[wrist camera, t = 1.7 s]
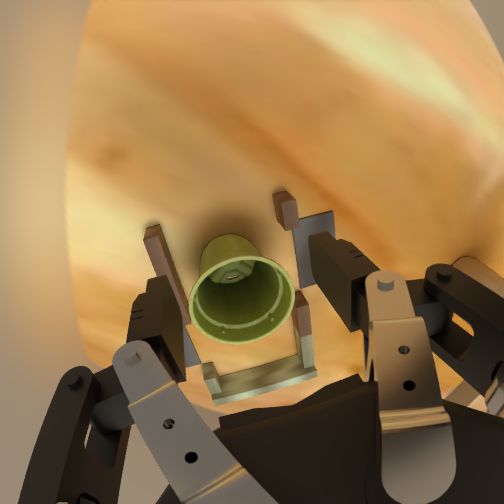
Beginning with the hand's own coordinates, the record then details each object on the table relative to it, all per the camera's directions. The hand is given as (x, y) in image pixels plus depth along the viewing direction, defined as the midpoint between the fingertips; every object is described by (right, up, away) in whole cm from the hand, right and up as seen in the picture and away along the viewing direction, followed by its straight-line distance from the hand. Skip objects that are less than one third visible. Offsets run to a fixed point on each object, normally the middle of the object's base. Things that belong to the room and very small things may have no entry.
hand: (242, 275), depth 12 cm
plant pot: (-2, 0, +22) cm, 22 cm away
